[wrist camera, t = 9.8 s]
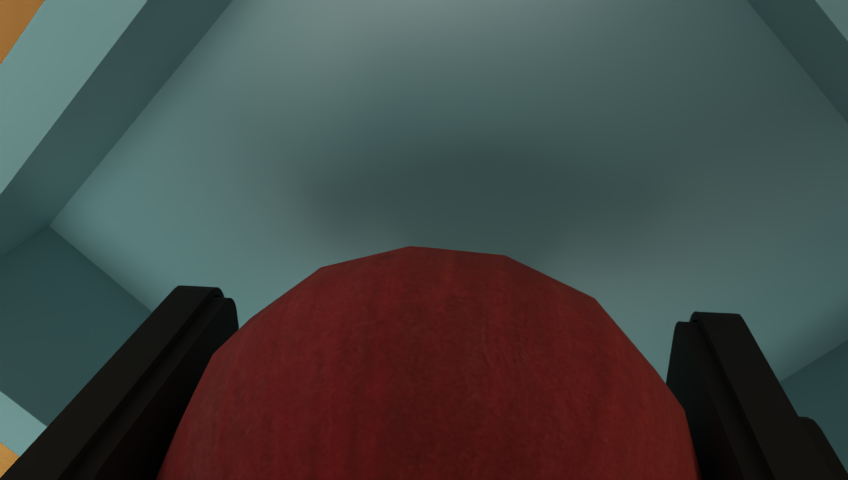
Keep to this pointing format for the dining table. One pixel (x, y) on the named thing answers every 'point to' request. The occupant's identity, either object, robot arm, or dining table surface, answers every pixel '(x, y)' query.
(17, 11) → the dining table surface
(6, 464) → the dining table surface
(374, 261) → the onion
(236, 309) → the robot arm
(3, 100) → the bin
